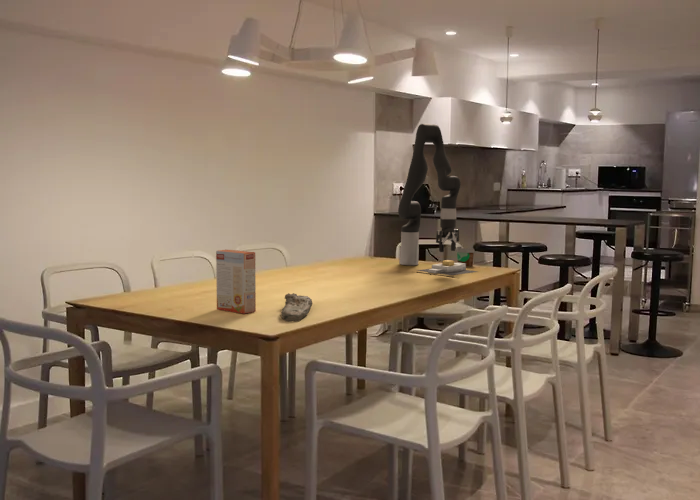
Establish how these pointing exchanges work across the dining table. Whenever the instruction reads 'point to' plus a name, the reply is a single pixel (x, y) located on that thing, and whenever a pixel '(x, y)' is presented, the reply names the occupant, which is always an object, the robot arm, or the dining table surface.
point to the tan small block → (447, 263)
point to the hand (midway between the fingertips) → (447, 251)
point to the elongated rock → (296, 307)
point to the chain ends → (447, 268)
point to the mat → (448, 273)
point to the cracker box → (236, 281)
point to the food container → (465, 255)
